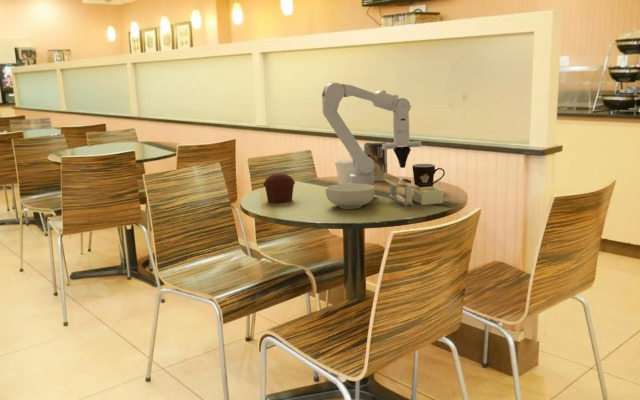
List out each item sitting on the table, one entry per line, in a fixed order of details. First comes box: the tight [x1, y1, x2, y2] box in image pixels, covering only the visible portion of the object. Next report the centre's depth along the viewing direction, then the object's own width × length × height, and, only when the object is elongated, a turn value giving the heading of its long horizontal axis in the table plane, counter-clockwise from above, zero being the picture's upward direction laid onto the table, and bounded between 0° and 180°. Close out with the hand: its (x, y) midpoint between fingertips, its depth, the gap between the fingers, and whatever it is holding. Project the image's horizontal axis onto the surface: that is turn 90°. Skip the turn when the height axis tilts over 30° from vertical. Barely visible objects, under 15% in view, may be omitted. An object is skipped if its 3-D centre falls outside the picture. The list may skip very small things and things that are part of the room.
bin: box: [413, 186, 444, 206], centre depth 205 cm, size 8×8×4 cm
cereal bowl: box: [325, 183, 376, 210], centre depth 202 cm, size 17×17×7 cm
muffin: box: [263, 172, 296, 204], centre depth 216 cm, size 12×11×10 cm
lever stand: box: [388, 183, 414, 207], centre depth 207 cm, size 3×17×7 cm, turn 12°
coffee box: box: [363, 142, 388, 182], centre depth 252 cm, size 9×6×16 cm
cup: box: [334, 158, 356, 184], centre depth 238 cm, size 10×10×11 cm
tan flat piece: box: [383, 172, 420, 190], centre depth 207 cm, size 9×14×3 cm, turn 12°
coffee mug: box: [411, 163, 446, 187], centre depth 224 cm, size 12×9×10 cm
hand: (402, 167), depth 217 cm, fingers closed
